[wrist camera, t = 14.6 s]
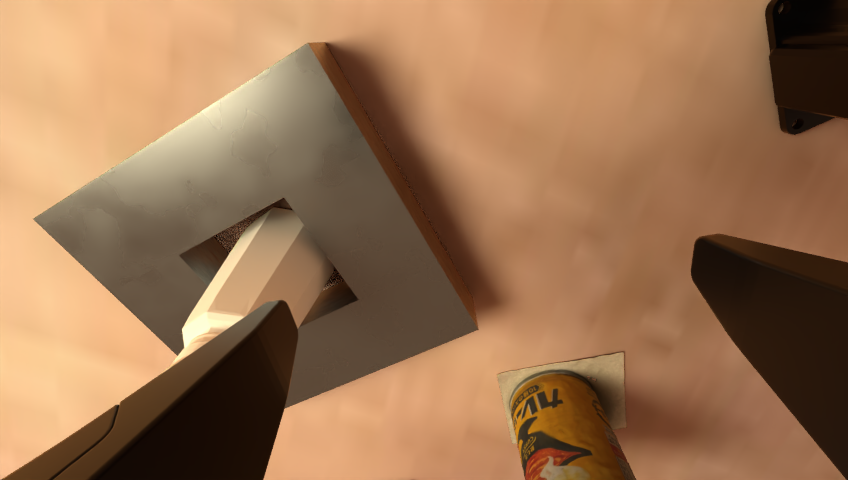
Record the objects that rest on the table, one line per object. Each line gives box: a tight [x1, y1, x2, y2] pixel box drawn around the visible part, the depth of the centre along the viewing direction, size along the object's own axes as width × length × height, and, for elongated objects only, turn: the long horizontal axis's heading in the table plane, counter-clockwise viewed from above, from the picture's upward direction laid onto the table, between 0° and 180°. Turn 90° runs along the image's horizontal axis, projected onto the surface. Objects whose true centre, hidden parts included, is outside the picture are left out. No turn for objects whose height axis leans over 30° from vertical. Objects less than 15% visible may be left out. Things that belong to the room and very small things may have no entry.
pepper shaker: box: [161, 207, 334, 374], centre depth 18 cm, size 5×5×11 cm
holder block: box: [34, 42, 478, 409], centre depth 22 cm, size 16×16×3 cm
